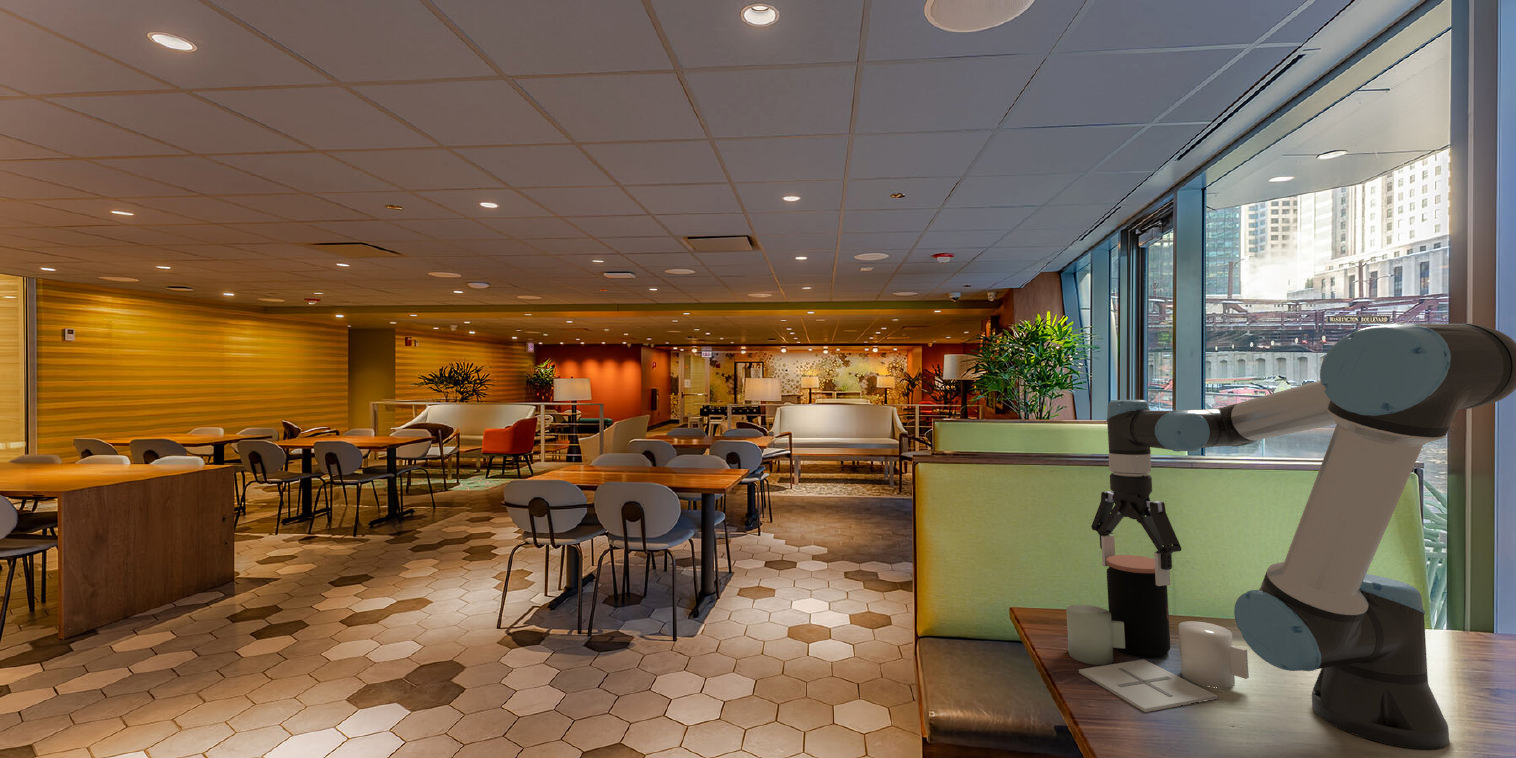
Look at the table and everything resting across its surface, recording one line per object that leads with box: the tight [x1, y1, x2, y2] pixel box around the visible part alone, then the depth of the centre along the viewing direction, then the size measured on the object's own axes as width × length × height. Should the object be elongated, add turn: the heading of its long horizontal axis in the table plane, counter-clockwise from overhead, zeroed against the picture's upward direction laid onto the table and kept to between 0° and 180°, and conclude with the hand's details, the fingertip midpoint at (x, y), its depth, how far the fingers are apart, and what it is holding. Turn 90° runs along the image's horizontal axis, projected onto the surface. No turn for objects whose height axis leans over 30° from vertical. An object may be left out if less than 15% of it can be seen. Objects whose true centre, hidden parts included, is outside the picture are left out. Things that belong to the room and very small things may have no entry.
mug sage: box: [1065, 604, 1125, 666], centre depth 122 cm, size 10×8×9 cm
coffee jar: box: [1106, 554, 1171, 659], centre depth 125 cm, size 11×11×18 cm
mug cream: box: [1178, 620, 1250, 689], centre depth 111 cm, size 10×8×9 cm
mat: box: [1078, 659, 1218, 713], centre depth 110 cm, size 15×15×1 cm
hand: (1134, 574), depth 126 cm, fingers open, 13 cm apart
